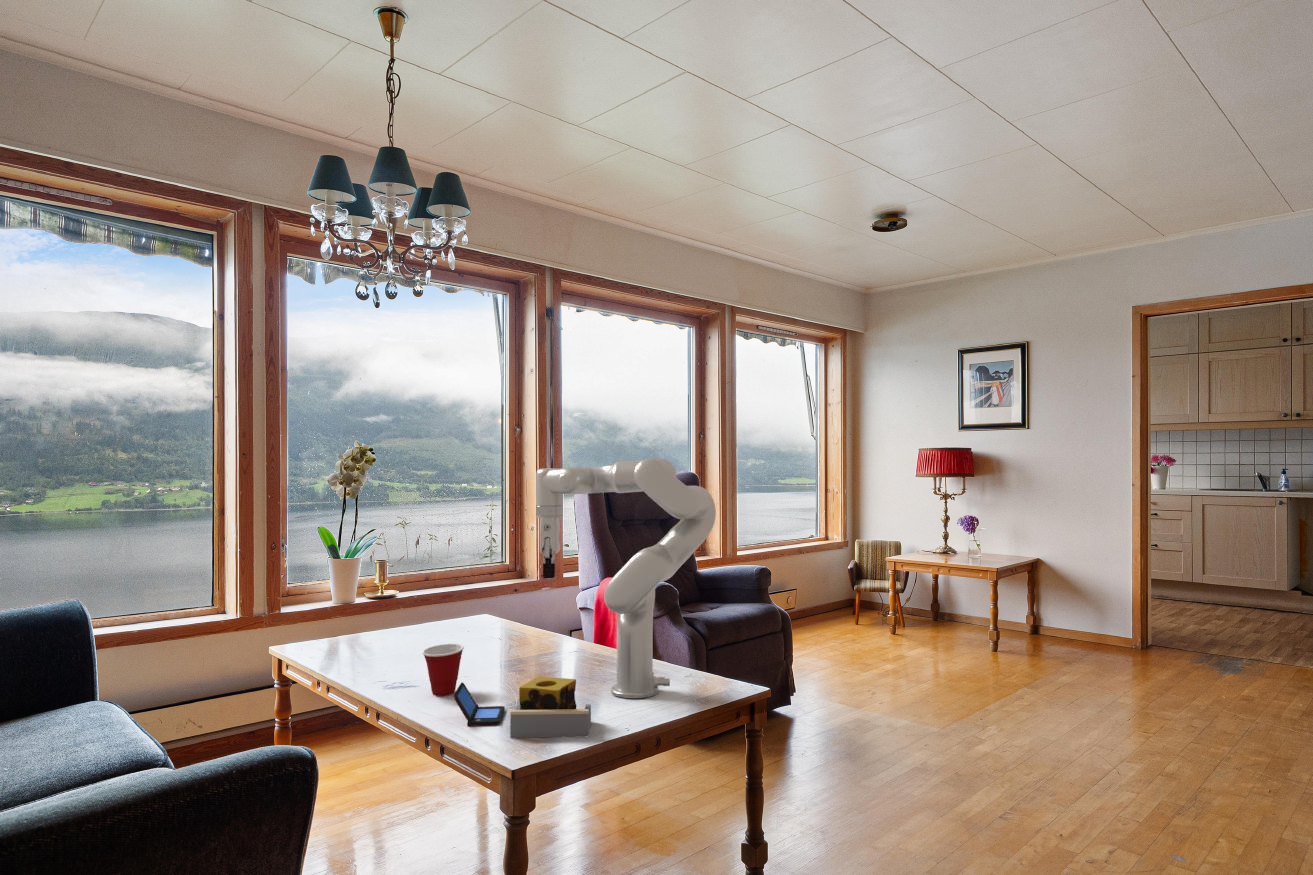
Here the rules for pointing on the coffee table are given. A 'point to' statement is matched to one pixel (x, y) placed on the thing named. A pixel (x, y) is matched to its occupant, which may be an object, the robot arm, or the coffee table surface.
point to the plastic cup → (443, 667)
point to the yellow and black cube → (548, 694)
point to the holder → (550, 722)
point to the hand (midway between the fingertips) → (548, 577)
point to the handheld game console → (477, 709)
